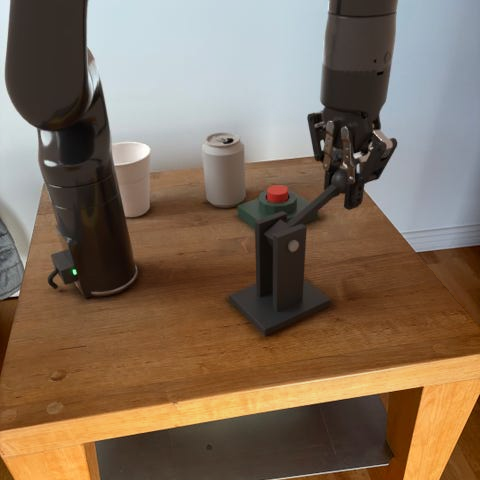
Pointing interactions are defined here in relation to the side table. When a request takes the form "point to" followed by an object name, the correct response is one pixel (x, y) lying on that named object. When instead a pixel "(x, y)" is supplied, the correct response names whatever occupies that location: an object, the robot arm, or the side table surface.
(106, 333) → the side table surface
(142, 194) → the cup
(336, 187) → the switch lever
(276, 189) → the power button
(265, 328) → the pivot lever stand
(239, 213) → the button base block
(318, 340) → the side table surface
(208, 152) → the can
